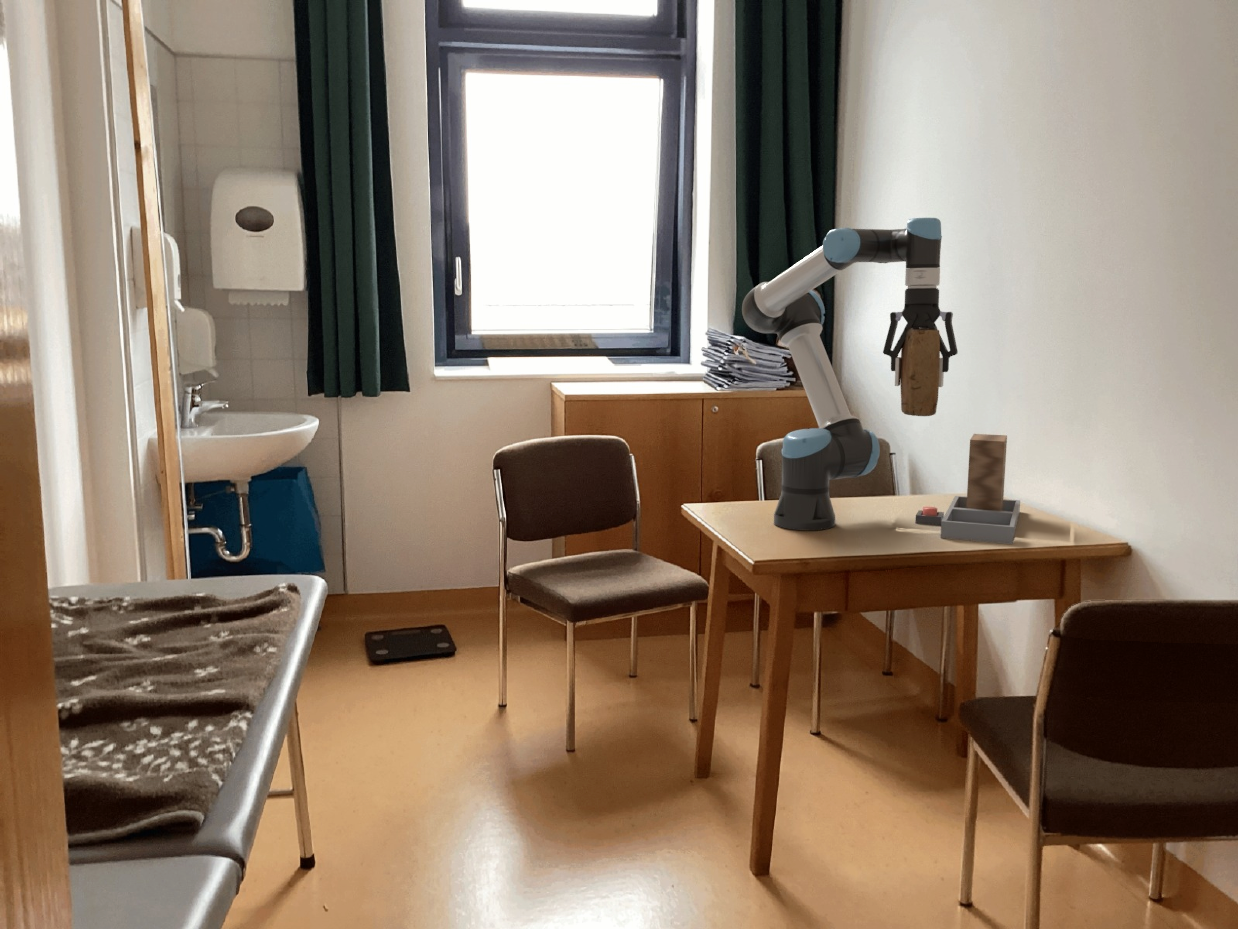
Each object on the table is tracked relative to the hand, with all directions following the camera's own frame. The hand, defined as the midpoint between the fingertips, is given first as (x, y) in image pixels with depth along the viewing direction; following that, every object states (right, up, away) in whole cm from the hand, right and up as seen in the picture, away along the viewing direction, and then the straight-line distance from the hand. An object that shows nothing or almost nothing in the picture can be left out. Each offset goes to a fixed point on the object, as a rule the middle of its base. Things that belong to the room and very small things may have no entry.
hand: (918, 385), depth 242 cm
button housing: (+7, -33, +17) cm, 38 cm away
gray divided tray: (+20, -33, +16) cm, 42 cm away
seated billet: (+23, -31, +23) cm, 45 cm away
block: (0, -7, +1) cm, 7 cm away
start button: (+7, -32, +17) cm, 37 cm away
